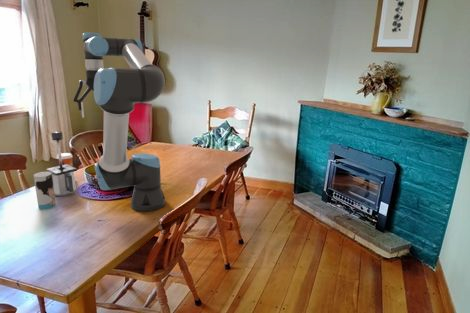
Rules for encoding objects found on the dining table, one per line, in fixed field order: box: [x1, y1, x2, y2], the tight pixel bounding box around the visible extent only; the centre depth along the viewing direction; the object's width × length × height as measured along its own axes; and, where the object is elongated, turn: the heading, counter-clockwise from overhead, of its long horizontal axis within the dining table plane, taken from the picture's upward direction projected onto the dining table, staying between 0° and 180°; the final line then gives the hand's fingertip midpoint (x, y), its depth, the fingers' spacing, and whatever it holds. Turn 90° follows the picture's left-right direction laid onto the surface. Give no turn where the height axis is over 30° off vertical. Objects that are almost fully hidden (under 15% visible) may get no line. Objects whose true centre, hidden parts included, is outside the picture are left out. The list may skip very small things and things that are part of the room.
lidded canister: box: [45, 164, 78, 198], centre depth 156 cm, size 13×10×12 cm
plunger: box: [51, 131, 64, 170], centre depth 153 cm, size 7×7×21 cm
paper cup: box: [56, 152, 74, 167], centre depth 173 cm, size 8×8×14 cm
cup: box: [33, 171, 57, 211], centre depth 141 cm, size 7×7×15 cm
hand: (99, 116), depth 153 cm, fingers open, 13 cm apart
